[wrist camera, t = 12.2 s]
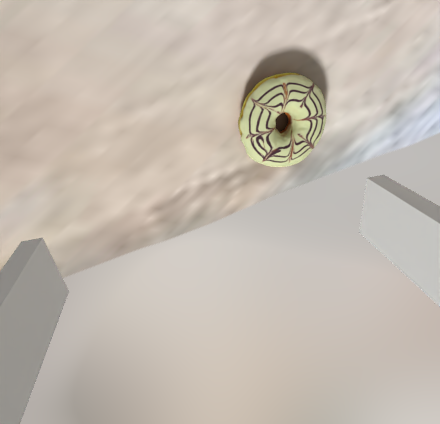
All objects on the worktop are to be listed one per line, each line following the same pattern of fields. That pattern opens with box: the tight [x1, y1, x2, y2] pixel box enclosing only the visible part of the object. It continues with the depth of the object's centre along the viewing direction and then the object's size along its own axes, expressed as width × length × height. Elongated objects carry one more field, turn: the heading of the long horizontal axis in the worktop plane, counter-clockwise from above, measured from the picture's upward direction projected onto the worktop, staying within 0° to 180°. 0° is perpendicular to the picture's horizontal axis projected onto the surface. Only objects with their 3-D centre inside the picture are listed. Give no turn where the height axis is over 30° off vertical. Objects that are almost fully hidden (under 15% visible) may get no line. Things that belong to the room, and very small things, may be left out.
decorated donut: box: [238, 73, 326, 167], centre depth 36 cm, size 10×11×4 cm
